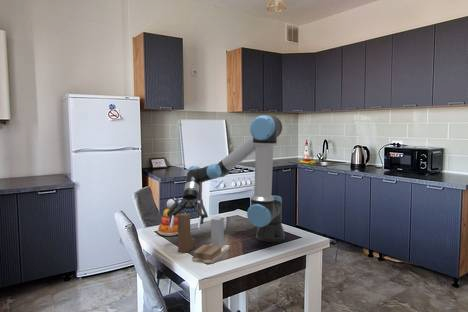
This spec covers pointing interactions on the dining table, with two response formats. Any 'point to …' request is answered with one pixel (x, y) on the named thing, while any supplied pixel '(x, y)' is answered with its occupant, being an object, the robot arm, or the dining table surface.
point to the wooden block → (184, 233)
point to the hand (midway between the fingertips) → (184, 229)
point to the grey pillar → (217, 231)
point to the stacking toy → (165, 224)
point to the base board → (223, 249)
